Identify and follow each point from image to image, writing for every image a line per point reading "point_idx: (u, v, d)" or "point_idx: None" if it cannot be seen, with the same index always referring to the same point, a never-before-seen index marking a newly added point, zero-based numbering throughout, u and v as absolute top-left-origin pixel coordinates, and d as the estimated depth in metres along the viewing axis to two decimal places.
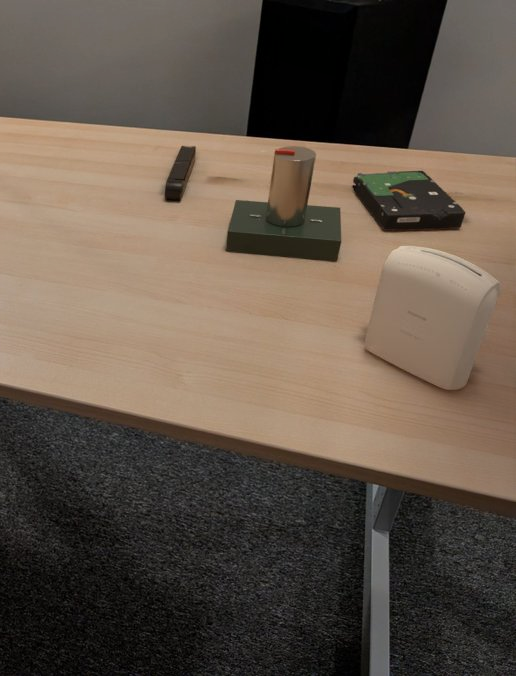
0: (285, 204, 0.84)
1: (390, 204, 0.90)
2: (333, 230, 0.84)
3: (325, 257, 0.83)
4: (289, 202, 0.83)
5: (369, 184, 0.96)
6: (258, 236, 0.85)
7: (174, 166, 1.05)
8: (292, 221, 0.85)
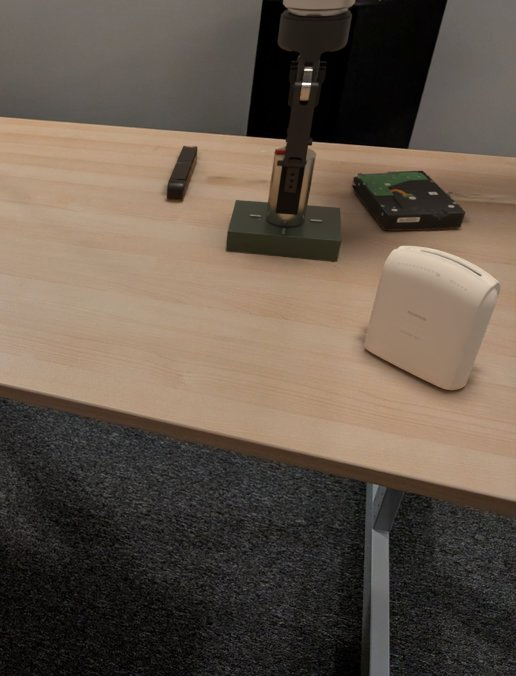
0: None
1: (390, 204, 0.90)
2: (333, 230, 0.84)
3: (325, 257, 0.83)
4: None
5: (368, 184, 0.96)
6: (258, 236, 0.85)
7: (176, 166, 1.04)
8: (292, 221, 0.85)
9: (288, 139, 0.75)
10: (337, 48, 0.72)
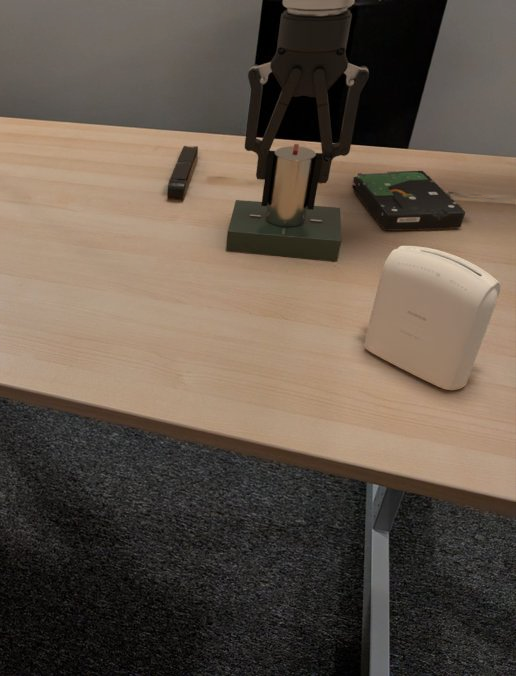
0: None
1: (390, 204, 0.90)
2: (333, 230, 0.84)
3: (325, 257, 0.83)
4: (269, 193, 0.86)
5: (368, 184, 0.96)
6: (258, 236, 0.85)
7: (176, 166, 1.04)
8: (267, 214, 0.87)
9: None
10: (288, 48, 0.73)
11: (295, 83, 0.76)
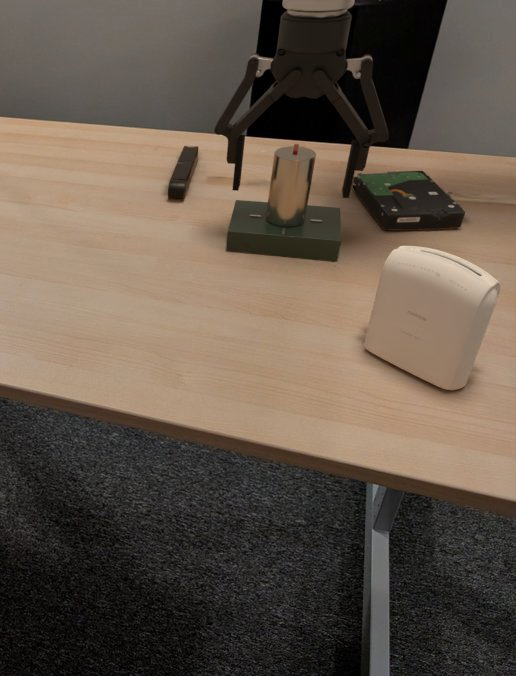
0: None
1: (390, 204, 0.90)
2: (333, 230, 0.84)
3: (325, 257, 0.83)
4: (269, 193, 0.86)
5: (368, 184, 0.96)
6: (258, 236, 0.85)
7: (177, 166, 1.04)
8: (267, 214, 0.87)
9: None
10: (288, 50, 0.73)
11: (291, 84, 0.76)
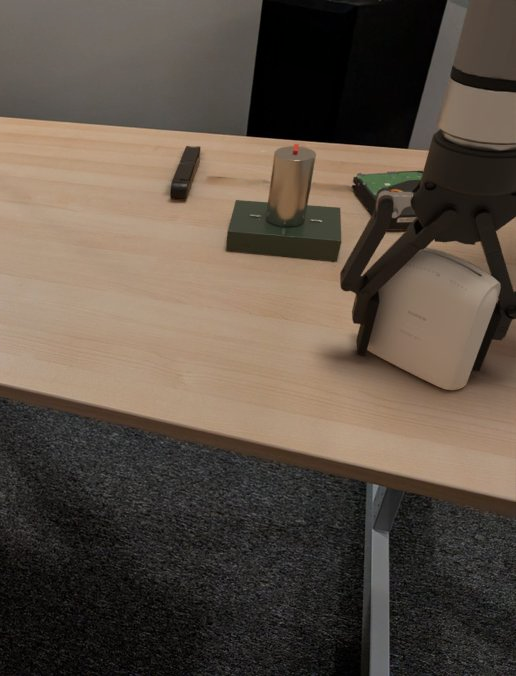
0: None
1: None
2: (333, 230, 0.84)
3: (325, 257, 0.83)
4: (269, 193, 0.86)
5: (368, 184, 0.96)
6: (258, 236, 0.85)
7: (179, 166, 1.04)
8: (267, 214, 0.87)
9: (354, 248, 0.62)
10: (445, 187, 0.53)
11: (443, 227, 0.56)
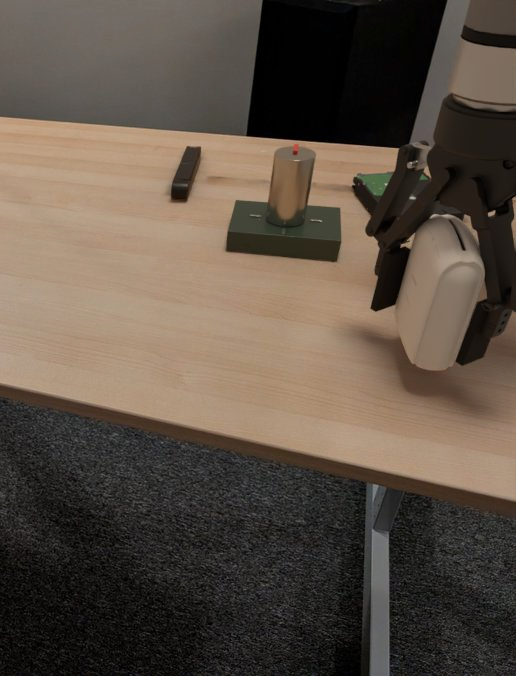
0: None
1: None
2: (333, 230, 0.84)
3: (325, 257, 0.83)
4: (269, 193, 0.86)
5: (368, 184, 0.96)
6: (258, 236, 0.85)
7: (180, 166, 1.04)
8: (267, 214, 0.87)
9: None
10: (434, 140, 0.54)
11: (439, 187, 0.56)
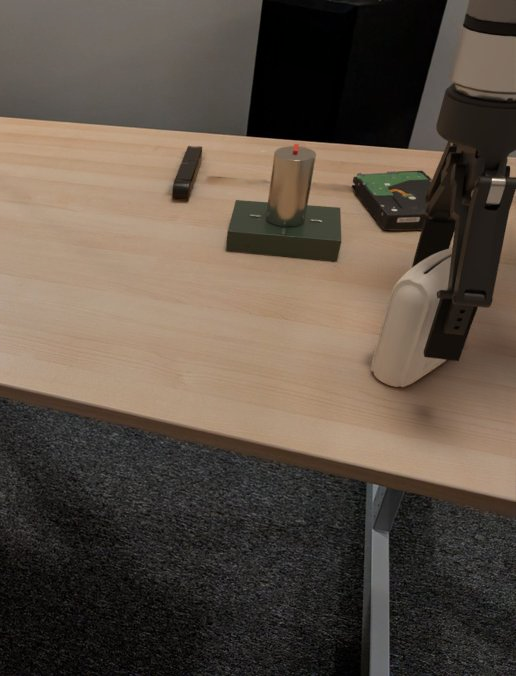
0: None
1: (390, 204, 0.90)
2: (333, 230, 0.84)
3: (325, 257, 0.83)
4: (269, 193, 0.86)
5: (368, 184, 0.96)
6: (258, 236, 0.85)
7: (181, 166, 1.04)
8: (267, 214, 0.87)
9: None
10: None
11: None
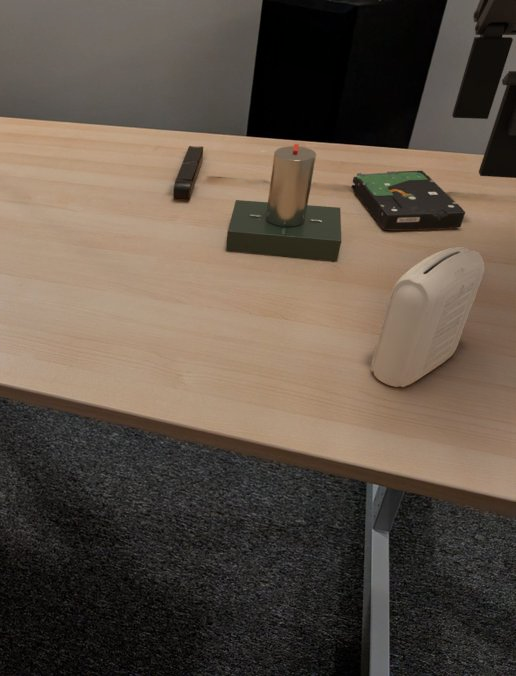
0: None
1: (390, 204, 0.90)
2: (333, 230, 0.84)
3: (325, 257, 0.83)
4: (269, 193, 0.86)
5: (368, 184, 0.96)
6: (258, 236, 0.85)
7: (182, 166, 1.04)
8: (267, 214, 0.87)
9: None
10: None
11: None
